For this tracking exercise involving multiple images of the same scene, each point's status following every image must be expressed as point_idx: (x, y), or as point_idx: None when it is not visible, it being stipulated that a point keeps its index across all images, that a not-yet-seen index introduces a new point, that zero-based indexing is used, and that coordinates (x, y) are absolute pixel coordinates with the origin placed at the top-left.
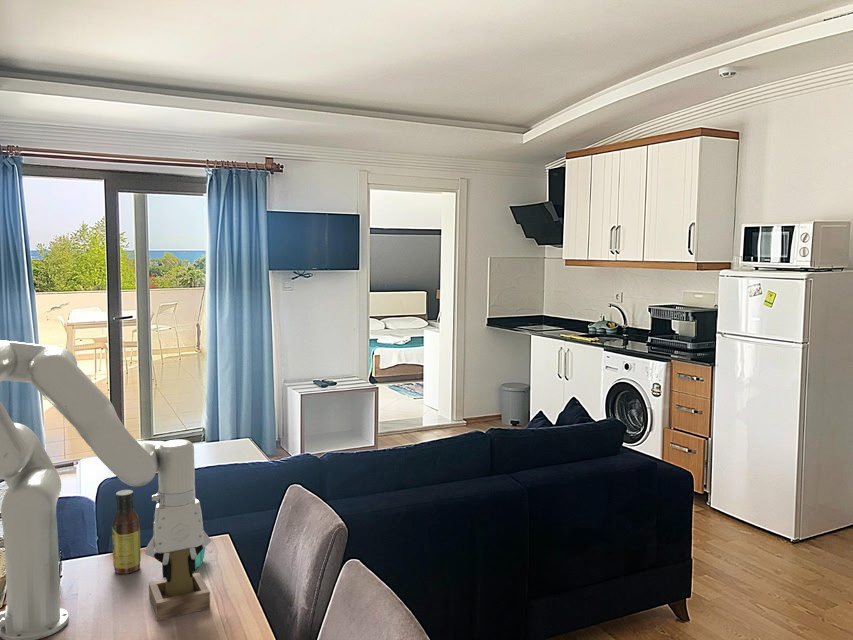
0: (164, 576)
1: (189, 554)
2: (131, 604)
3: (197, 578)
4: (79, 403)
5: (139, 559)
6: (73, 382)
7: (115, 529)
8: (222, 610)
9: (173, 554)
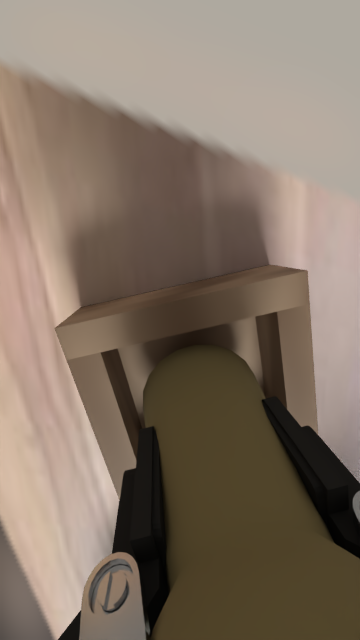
0: (306, 427)
1: (156, 623)
2: (338, 400)
3: (128, 469)
4: None
5: None
6: None
7: None
8: (28, 280)
9: None
